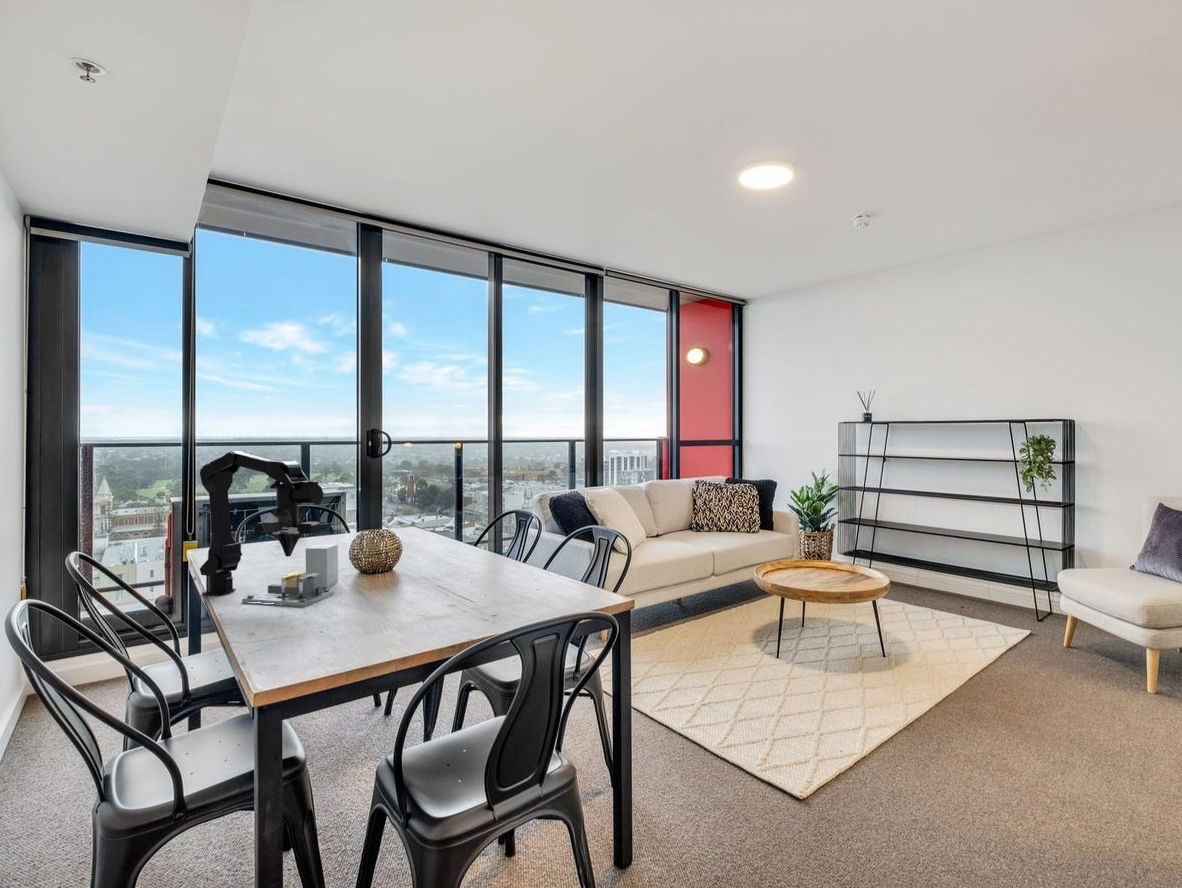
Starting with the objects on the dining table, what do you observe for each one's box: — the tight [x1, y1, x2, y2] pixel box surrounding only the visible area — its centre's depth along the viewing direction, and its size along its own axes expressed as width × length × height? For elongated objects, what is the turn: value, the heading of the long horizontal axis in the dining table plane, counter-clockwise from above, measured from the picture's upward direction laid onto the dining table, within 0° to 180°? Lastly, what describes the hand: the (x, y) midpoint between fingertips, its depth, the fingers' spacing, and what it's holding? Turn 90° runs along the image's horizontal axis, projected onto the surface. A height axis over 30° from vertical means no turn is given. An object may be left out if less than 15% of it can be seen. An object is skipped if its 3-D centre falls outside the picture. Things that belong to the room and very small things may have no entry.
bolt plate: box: [241, 573, 335, 608], centre depth 179 cm, size 20×14×7 cm
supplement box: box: [305, 543, 339, 588], centre depth 196 cm, size 7×7×13 cm
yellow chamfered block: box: [281, 571, 306, 596], centre depth 180 cm, size 4×8×5 cm, turn 169°
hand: (288, 556), depth 179 cm, fingers closed
